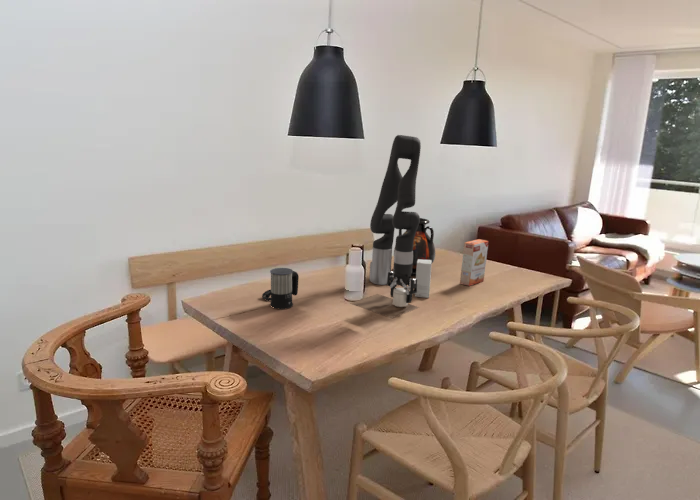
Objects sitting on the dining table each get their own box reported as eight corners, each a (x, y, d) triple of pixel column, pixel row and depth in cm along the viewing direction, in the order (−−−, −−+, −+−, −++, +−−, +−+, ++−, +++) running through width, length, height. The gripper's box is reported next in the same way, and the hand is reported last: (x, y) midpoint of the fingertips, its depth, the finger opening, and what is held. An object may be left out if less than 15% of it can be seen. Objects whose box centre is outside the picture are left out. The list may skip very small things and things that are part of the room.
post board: (349, 306, 195) (350, 289, 193) (377, 297, 208) (378, 280, 206) (392, 322, 181) (393, 303, 179) (419, 310, 194) (420, 293, 192)
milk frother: (286, 311, 188) (287, 275, 184) (251, 305, 192) (250, 270, 189) (300, 299, 201) (301, 266, 197) (267, 295, 205) (267, 261, 202)
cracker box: (470, 286, 228) (474, 244, 223) (459, 283, 232) (463, 242, 227) (484, 281, 238) (489, 240, 233) (474, 278, 242) (478, 238, 237)
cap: (393, 306, 190) (394, 292, 189) (392, 301, 196) (392, 287, 195) (408, 306, 190) (409, 292, 189) (406, 301, 196) (407, 287, 195)
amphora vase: (385, 273, 245) (388, 219, 239) (403, 264, 263) (406, 214, 257) (423, 280, 235) (428, 225, 228) (440, 271, 252) (444, 219, 246)
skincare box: (428, 298, 209) (431, 264, 206) (413, 296, 210) (416, 262, 207) (429, 292, 217) (432, 259, 214) (415, 291, 218) (417, 258, 215)
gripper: (423, 263, 186) (420, 302, 190) (396, 256, 197) (394, 293, 201) (410, 266, 182) (407, 306, 185) (383, 258, 192) (381, 296, 196)
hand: (400, 299), depth 193 cm, fingers open, 8 cm apart
